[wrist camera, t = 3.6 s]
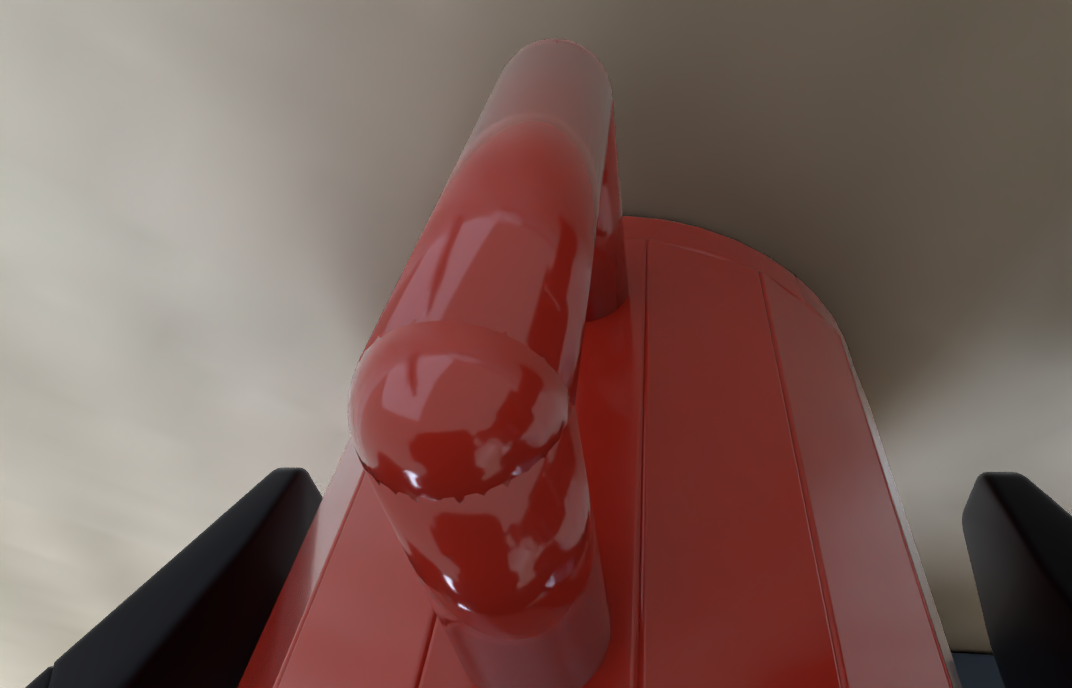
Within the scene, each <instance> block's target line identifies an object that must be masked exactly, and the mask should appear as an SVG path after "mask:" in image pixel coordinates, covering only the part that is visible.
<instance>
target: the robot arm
mask: <svg viewBox="0 0 1072 688" xmlns="http://www.w3.org/2000/svg"><path fill="white" fill-rule="evenodd" d="M322 499H323V497H322V496H321V494H320V492H319V491H318V489H317V487H316V485H315V484H314V482H313V480H312V479H311V477H310V475H309V473H308V472H307V471H306V470H304V469H303V468H278V469H276V470H274V471H272V472H271V473H270V474H269V475H268V476H266V477H265V478H264V479H263V480H262V481H261V482H260V483H258V484H257V485H256V486H255V487H254V488H253V489H252V490H250V491H249V492H248V493H247V494H246V495H245V496H244V497H242V498H241V499H240V500H239V501H238V502H237V503H236V504H234V505H233V506H232V507H231V508H230V509H229V510H228V511H226V512H225V513H224V514H223V515H222V516H221V517H220V518H219V519H217V520H216V521H215V522H214V523H213V524H212V525H211V526H209V527H208V528H207V529H206V530H205V531H204V532H203V533H201V534H200V535H199V536H198V537H197V538H196V539H195V540H193V541H192V542H191V543H190V544H189V545H188V546H187V547H185V548H184V549H183V550H182V551H181V552H180V553H179V554H177V555H176V556H175V557H174V558H173V559H172V560H171V561H169V562H168V563H167V564H166V565H165V566H164V567H163V568H161V569H160V570H159V571H158V572H157V573H156V574H155V575H153V576H152V577H151V578H150V579H149V580H148V581H147V582H145V583H144V584H143V585H142V586H141V587H140V588H139V589H137V590H136V591H135V592H134V593H133V594H132V595H131V596H129V597H128V598H127V599H126V600H125V601H124V602H123V603H121V604H120V605H119V606H118V607H117V608H116V609H115V610H113V611H112V612H111V613H110V614H109V615H108V616H107V617H106V618H104V619H103V620H102V621H101V622H100V623H99V624H98V625H96V626H95V627H94V628H93V629H92V630H91V631H90V632H88V633H87V634H86V635H85V636H84V637H83V638H82V639H80V640H79V641H78V642H77V643H76V644H75V645H74V646H72V647H71V648H70V649H69V650H68V651H67V652H66V653H64V654H63V655H62V656H61V657H60V658H59V659H58V660H56V662H55V663H54V666H51V667H48V668H47V669H46V670H45V671H44V672H42V673H41V674H40V675H39V676H38V677H37V678H36V679H34V680H33V681H32V682H31V683H30V684H29V685H28V686H26V687H25V688H237V687H238V685H239V683H240V681H241V679H242V676H243V674H244V672H245V670H246V668H247V665H248V663H249V661H250V659H251V656H252V654H253V652H254V650H255V648H256V645H257V643H258V641H259V639H260V636H261V634H262V632H263V630H264V628H265V625H266V623H267V621H268V619H269V617H270V614H271V612H272V610H273V608H274V605H275V603H276V601H277V599H278V597H279V594H280V592H281V590H282V588H283V586H284V583H285V581H286V579H287V577H288V574H289V572H290V570H291V568H292V566H293V563H294V561H295V559H296V557H297V555H298V552H299V550H300V548H301V546H302V543H303V541H304V539H305V537H306V535H307V532H308V530H309V528H310V526H311V523H312V521H313V519H314V517H315V515H316V512H317V510H318V508H319V506H320V504H321V501H322ZM962 525H963V532H964V536H965V540H966V544H967V549H968V553H969V557H970V561H971V566H972V570H973V574H974V578H975V583H976V587H977V591H978V595H979V599H980V604H981V608H982V612H983V616H984V621H985V625H986V629H987V633H988V637H989V640H990V644H991V648H992V652H993V655H994V658H995V661H996V664H997V667H998V670H999V672H1000V675H1001V678H1002V681H1003V683H1004V686H1005V688H1072V516H1071V515H1070V514H1069V513H1068V512H1066V511H1065V510H1064V509H1063V508H1062V507H1061V506H1059V505H1058V504H1057V503H1056V502H1055V501H1054V500H1052V499H1051V498H1050V497H1049V496H1048V495H1046V494H1045V493H1044V492H1043V491H1042V490H1041V489H1039V488H1038V487H1037V486H1036V485H1035V484H1034V483H1032V482H1031V481H1030V480H1029V479H1028V478H1026V477H1025V476H1023V475H1021V474H1019V473H1014V472H985V473H982V474H981V475H979V476H978V478H977V480H976V482H975V484H974V487H973V489H972V491H971V494H970V496H969V499H968V501H967V504H966V506H965V508H964V511H963V516H962Z"/></svg>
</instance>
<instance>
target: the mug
mask: <svg viewBox="0 0 1072 688" xmlns="http://www.w3.org/2000/svg"><path fill="white" fill-rule="evenodd" d="M348 422H349V429H350V434H351V437H350V439H349V442H348V444H347V446H346V448H345V450H344V453H343V455H342V457H341V459H340V461H339V464H338V466H337V468H336V470H335V473H334V475H333V477H332V479H331V481H330V484H329V486H328V488H327V490H326V492H325V495H324V497H323V499H322V501H321V504H320V506H319V508H318V510H317V512H316V515H315V517H314V519H313V521H312V523H311V526H310V528H309V530H308V532H307V535H306V537H305V539H304V541H303V543H302V546H301V548H300V550H299V552H298V555H297V557H296V559H295V561H294V563H293V566H292V568H291V570H290V572H289V574H288V577H287V579H286V581H285V583H284V586H283V588H282V590H281V592H280V594H279V597H278V599H277V601H276V603H275V605H274V608H273V610H272V612H271V614H270V617H269V619H268V621H267V623H266V625H265V628H264V630H263V632H262V634H261V636H260V639H259V641H258V643H257V645H256V648H255V650H254V652H253V654H252V656H251V659H250V661H249V663H248V665H247V668H246V670H245V672H244V674H243V676H242V679H241V681H240V683H239V685H238V687H237V688H962V685H961V682H960V679H959V676H958V673H957V670H956V667H955V664H954V661H953V657H952V654H951V651H950V648H949V645H948V642H947V639H946V636H945V633H944V630H943V627H942V624H941V621H940V618H939V615H938V612H937V609H936V606H935V603H934V600H933V597H932V594H931V591H930V588H929V585H928V582H927V579H926V576H925V572H924V569H923V566H922V563H921V560H920V557H919V554H918V551H917V548H916V545H915V542H914V539H913V536H912V533H911V530H910V527H909V524H908V521H907V518H906V515H905V512H904V509H903V506H902V503H901V500H900V497H899V494H898V491H897V488H896V484H895V481H894V478H893V475H892V472H891V469H890V466H889V463H888V460H887V457H886V454H885V451H884V448H883V445H882V442H881V439H880V436H879V433H878V430H877V427H876V424H875V421H874V418H873V415H872V412H871V409H870V406H869V403H868V400H867V398H866V395H865V393H864V390H863V388H862V386H861V383H860V381H859V378H858V376H857V373H856V371H855V369H854V365H853V362H852V359H851V356H850V353H849V350H848V347H847V344H846V340H845V338H844V337H843V335H842V333H841V331H840V329H839V327H838V325H837V323H836V321H835V319H834V318H833V316H832V315H831V314H830V312H829V311H828V310H827V308H826V307H825V306H824V305H823V303H822V302H821V301H820V299H819V298H818V297H817V296H816V294H815V293H813V292H812V291H811V290H810V289H809V288H808V287H807V286H806V285H805V284H804V283H803V282H802V281H801V280H799V279H798V278H797V277H796V276H795V275H794V274H793V273H791V272H790V271H788V270H787V269H785V268H784V267H783V266H781V265H780V264H778V263H777V262H775V261H774V260H772V259H771V258H769V257H768V256H766V255H765V254H763V253H761V252H759V251H757V250H755V249H753V248H751V247H749V246H747V245H745V244H743V243H741V242H739V241H737V240H735V239H732V238H730V237H727V236H724V235H721V234H718V233H715V232H713V231H710V230H707V229H704V228H701V227H697V226H692V225H688V224H683V223H679V222H674V221H670V220H665V219H656V218H646V217H637V216H623V214H622V202H621V190H620V178H619V166H618V154H617V142H616V131H615V119H614V107H613V95H612V90H611V85H610V80H609V78H608V75H607V73H606V70H605V69H604V67H603V66H602V64H601V63H600V61H599V60H598V59H597V58H596V57H595V56H594V55H593V54H592V53H591V52H590V51H589V50H588V49H586V48H584V47H582V46H581V45H579V44H577V43H575V42H572V41H568V40H565V39H544V40H540V41H536V42H534V43H531V44H529V45H527V46H525V47H524V48H522V49H521V50H520V51H518V52H517V53H516V54H515V55H514V56H513V57H512V58H511V59H510V60H509V62H508V63H507V64H506V65H505V67H504V69H503V71H502V72H501V74H500V76H499V78H498V80H497V82H496V84H495V86H494V88H493V90H492V92H491V95H490V97H489V99H488V101H487V103H486V105H485V107H484V109H483V111H482V113H481V115H480V117H479V119H478V121H477V123H476V125H475V127H474V129H473V131H472V133H471V135H470V137H469V139H468V141H467V143H466V145H465V147H464V149H463V151H462V153H461V155H460V157H459V159H458V161H457V163H456V165H455V167H454V169H453V171H452V173H451V175H450V177H449V179H448V181H447V183H446V185H445V187H444V189H443V191H442V194H441V196H440V198H439V200H438V202H437V204H436V206H435V208H434V210H433V212H432V214H431V216H430V218H429V220H428V222H427V224H426V226H425V228H424V230H423V232H422V234H421V236H420V238H419V240H418V242H417V244H416V246H415V248H414V250H413V252H412V254H411V256H410V258H409V260H408V262H407V264H406V266H405V268H404V270H403V272H402V274H401V276H400V278H399V280H398V282H397V284H396V286H395V288H394V290H393V293H392V295H391V297H390V299H389V301H388V303H387V305H386V307H385V309H384V311H383V313H382V315H381V317H380V319H379V321H378V323H377V325H376V327H375V329H374V331H373V333H372V335H371V337H370V339H369V341H368V343H367V345H366V347H365V349H364V351H363V353H362V355H361V357H360V359H359V362H358V364H357V366H356V369H355V372H354V375H353V378H352V382H351V386H350V391H349V398H348Z"/></svg>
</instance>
